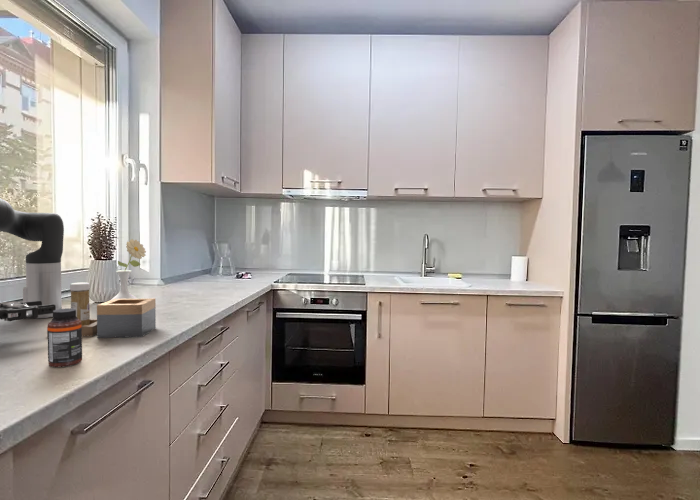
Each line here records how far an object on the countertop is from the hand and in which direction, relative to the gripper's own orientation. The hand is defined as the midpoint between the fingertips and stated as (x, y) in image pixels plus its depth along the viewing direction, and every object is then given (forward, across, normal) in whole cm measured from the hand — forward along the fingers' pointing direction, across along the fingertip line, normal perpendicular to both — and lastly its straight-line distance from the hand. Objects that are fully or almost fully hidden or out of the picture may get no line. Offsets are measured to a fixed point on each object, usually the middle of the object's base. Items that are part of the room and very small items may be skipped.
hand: (48, 306), depth 111 cm
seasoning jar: (+8, 0, +8) cm, 11 cm away
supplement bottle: (-7, -28, +8) cm, 30 cm away
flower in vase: (+33, +24, +8) cm, 42 cm away
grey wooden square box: (+15, -11, +8) cm, 20 cm away
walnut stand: (+8, 0, +8) cm, 11 cm away
